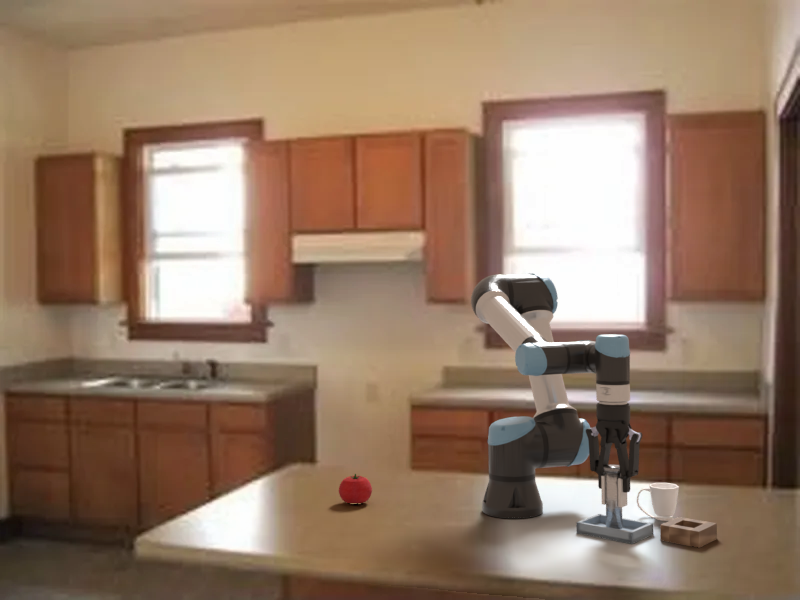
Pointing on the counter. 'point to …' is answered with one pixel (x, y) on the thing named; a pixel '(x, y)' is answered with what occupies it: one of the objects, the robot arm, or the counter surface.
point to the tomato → (355, 489)
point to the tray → (628, 533)
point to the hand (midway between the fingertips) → (614, 504)
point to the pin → (612, 497)
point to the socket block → (688, 532)
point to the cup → (662, 500)
